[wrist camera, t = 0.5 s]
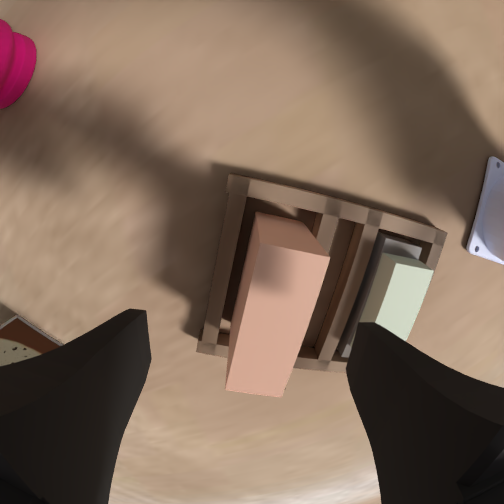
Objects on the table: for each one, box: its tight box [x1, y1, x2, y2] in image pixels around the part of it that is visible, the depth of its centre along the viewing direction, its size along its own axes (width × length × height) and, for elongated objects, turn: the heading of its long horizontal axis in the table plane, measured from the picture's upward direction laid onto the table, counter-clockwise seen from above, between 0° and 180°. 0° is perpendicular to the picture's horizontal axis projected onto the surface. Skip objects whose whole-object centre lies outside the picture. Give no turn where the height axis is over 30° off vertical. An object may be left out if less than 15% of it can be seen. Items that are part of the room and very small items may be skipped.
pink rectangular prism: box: [225, 212, 330, 397], centre depth 17 cm, size 3×8×7 cm, turn 168°
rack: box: [196, 173, 447, 373], centre depth 20 cm, size 15×12×2 cm
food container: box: [0, 315, 63, 366], centre depth 18 cm, size 12×6×10 cm, turn 63°
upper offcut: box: [350, 253, 434, 348], centre depth 18 cm, size 3×7×2 cm, turn 169°
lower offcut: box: [337, 232, 422, 357], centre depth 20 cm, size 3×9×2 cm, turn 167°
